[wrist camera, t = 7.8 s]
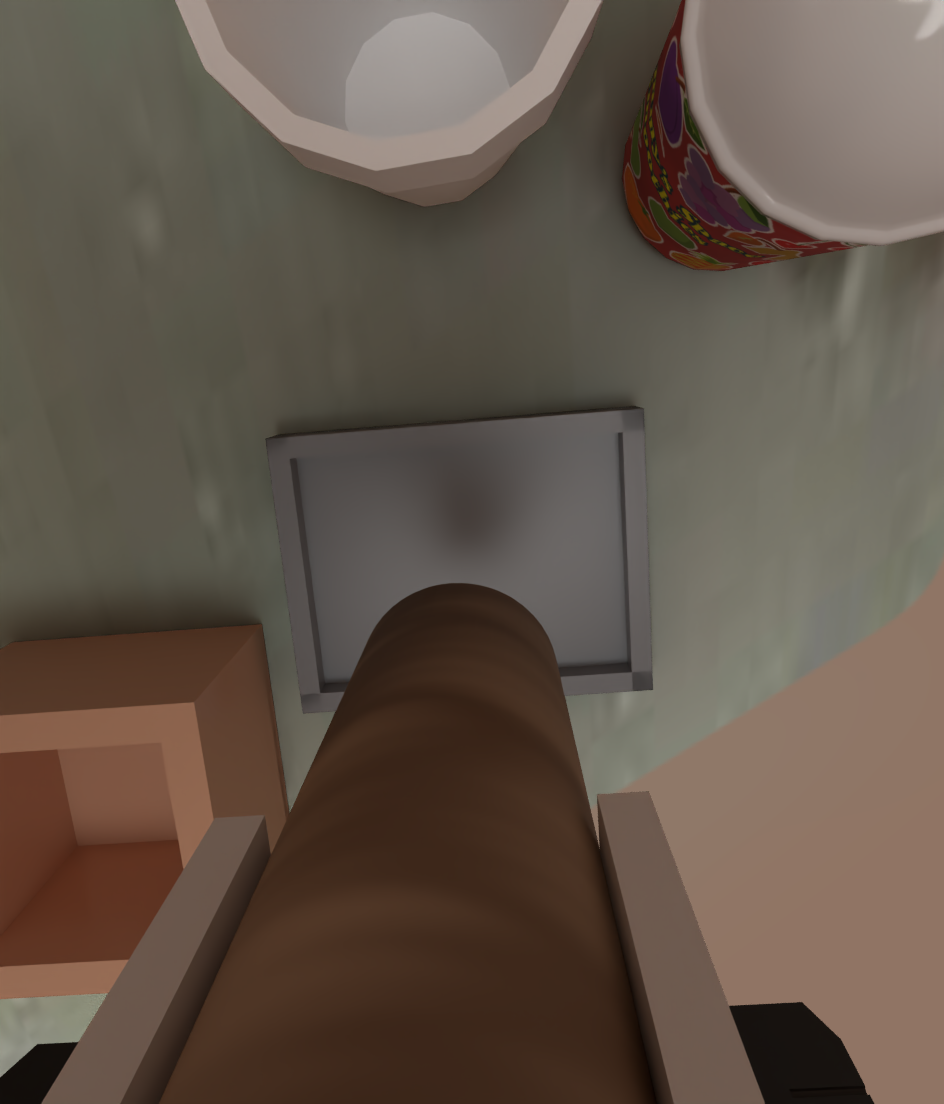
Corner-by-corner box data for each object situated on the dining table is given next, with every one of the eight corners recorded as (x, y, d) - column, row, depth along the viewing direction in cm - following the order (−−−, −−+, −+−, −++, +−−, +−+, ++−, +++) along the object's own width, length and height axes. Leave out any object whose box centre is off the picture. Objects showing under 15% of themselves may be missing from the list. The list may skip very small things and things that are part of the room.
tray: (312, 695, 34) (303, 713, 33) (277, 434, 32) (265, 438, 30) (644, 672, 34) (652, 689, 32) (634, 406, 31) (643, 408, 30)
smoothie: (552, 137, 29) (681, -315, 10) (760, -2, 28) (1369, -821, 9) (664, 340, 31) (967, 298, 11) (864, 216, 30) (1585, -67, 10)
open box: (61, 865, 36) (-55, 1002, 29) (12, 642, 34) (-129, 724, 26) (294, 851, 36) (241, 985, 28) (262, 624, 34) (193, 702, 26)
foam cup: (595, 191, 30) (675, 63, 17) (364, 291, 31) (278, 239, 18) (500, -84, 28) (510, -460, 15) (256, 31, 29) (74, -232, 16)
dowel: (372, 774, 21) (108, 1674, 7) (350, 589, 20) (-21, 1177, 6) (563, 762, 21) (729, 1662, 6) (552, 576, 20) (722, 1145, 5)
